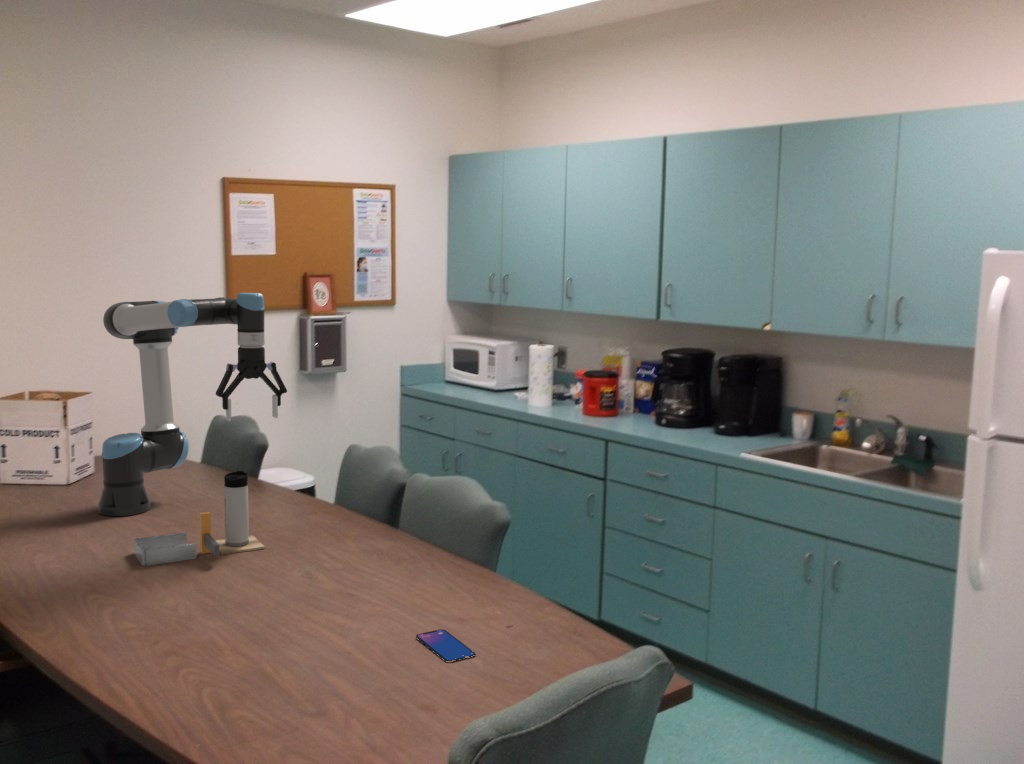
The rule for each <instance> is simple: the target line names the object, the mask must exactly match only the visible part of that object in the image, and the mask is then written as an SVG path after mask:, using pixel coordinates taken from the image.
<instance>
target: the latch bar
mask: <svg viewBox="0 0 1024 764" xmlns="http://www.w3.org/2000/svg"><path fill="white" fill-rule="evenodd" d="M211 522H212V521H211V512H210V511H206V512H200V513H199V525H200V528H199V531H200V536H199V537H200V553H201V554H210V553H211V554H212V556H214V557H220V555H221V554H220V553H219V544H218V543H217V542H216V541H215V540H216V539H215V538H213V536H212V535H211V534H212V531H211V530H212V528H211V525H212V523H211Z"/></svg>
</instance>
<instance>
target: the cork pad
mask: <svg viewBox="0 0 1024 764" xmlns="http://www.w3.org/2000/svg"><path fill="white" fill-rule="evenodd" d="M225 539H226V538H218V539H214V540H215V541H216V542H217V543H218V544H219V554H220V555H221V556H222V555H223V556H224V555H230V554H236V553H237V554H238V553H244V552H251V551H257V550H264V549H266V546H265V545H264V544H263V543H262V542H261V541H260V540H258V539H257V537H255V536H254V535H253V534H249V543H248V544H247V545H244V546H240V547H230V546H227V545H226V544H225Z"/></svg>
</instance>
